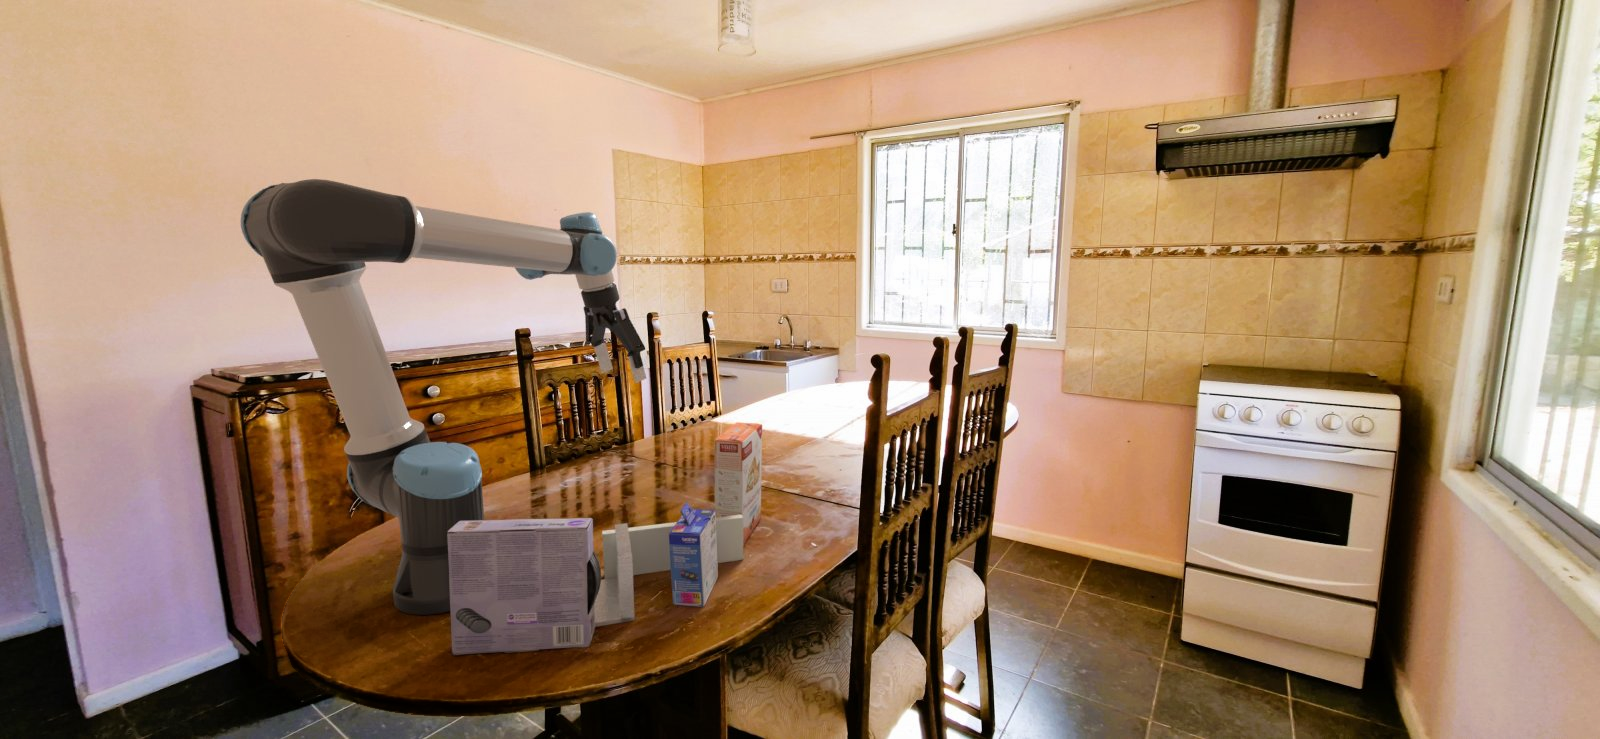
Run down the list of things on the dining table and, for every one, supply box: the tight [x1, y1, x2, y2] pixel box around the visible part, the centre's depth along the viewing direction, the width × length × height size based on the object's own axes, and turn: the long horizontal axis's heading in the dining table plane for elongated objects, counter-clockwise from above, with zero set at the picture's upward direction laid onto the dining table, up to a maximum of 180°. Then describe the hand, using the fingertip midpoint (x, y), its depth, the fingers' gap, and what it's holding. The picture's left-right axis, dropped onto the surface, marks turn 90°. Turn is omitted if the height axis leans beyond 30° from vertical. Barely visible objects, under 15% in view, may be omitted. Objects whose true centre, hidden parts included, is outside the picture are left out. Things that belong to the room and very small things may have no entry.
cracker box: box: [714, 422, 763, 546], centre depth 123 cm, size 14×6×21 cm, turn 168°
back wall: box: [601, 515, 744, 580], centre depth 109 cm, size 24×2×8 cm, turn 108°
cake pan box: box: [447, 517, 602, 656], centre depth 86 cm, size 19×5×18 cm, turn 98°
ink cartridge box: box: [669, 502, 719, 608], centre depth 101 cm, size 10×6×14 cm, turn 174°
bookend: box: [594, 522, 636, 628], centre depth 97 cm, size 8×13×10 cm, turn 18°
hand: (623, 375), depth 143 cm, fingers open, 13 cm apart
